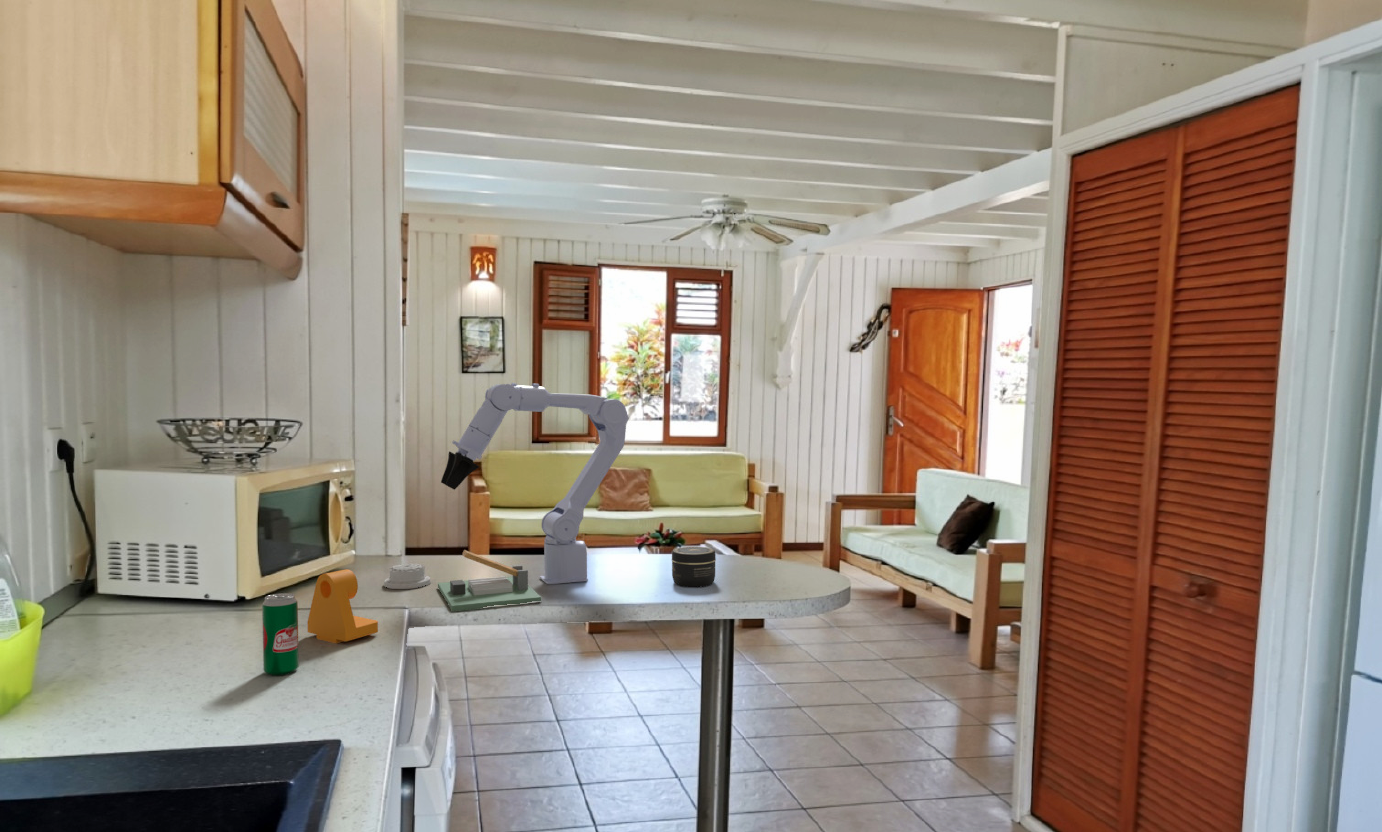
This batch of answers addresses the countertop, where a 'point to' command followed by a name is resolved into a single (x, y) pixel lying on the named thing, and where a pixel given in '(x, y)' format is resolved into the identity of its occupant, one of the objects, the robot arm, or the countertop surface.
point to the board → (488, 591)
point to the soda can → (280, 634)
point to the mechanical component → (407, 577)
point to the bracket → (337, 609)
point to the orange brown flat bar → (490, 563)
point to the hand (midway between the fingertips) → (447, 486)
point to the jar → (693, 566)
